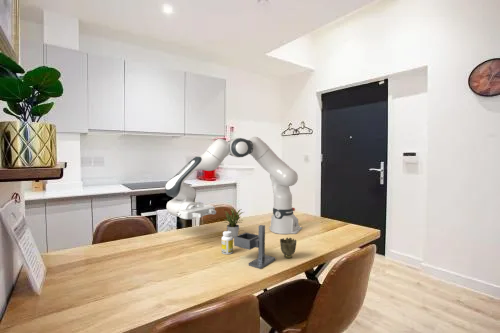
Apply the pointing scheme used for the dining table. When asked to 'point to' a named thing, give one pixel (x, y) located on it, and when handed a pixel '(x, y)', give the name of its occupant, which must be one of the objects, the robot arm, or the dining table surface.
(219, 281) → the dining table surface
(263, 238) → the cup bracket
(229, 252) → the supplement bottle
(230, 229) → the house plant
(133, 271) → the dining table surface
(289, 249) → the cup
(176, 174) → the robot arm
